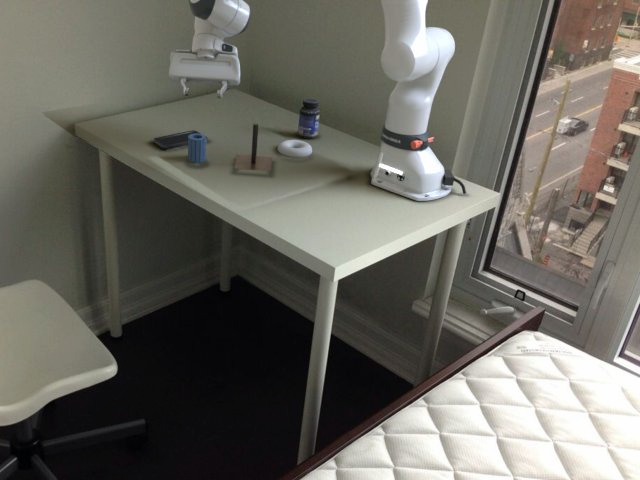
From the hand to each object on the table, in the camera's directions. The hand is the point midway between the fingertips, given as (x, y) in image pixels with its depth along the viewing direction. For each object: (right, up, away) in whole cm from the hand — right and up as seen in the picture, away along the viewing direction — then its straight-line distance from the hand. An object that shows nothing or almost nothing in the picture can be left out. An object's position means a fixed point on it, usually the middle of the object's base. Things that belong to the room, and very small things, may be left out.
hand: (202, 96), depth 203 cm
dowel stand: (+14, -20, -2) cm, 25 cm away
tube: (-2, -19, -2) cm, 20 cm away
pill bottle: (+31, -7, +21) cm, 38 cm away
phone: (-7, -11, +11) cm, 17 cm away
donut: (+26, -15, +7) cm, 31 cm away
